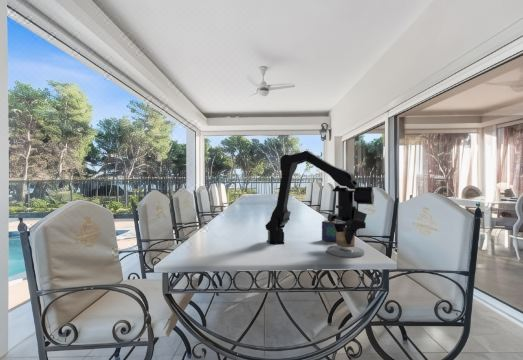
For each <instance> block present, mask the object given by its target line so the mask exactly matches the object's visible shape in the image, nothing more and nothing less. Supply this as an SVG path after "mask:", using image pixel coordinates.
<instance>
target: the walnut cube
mask: <svg viewBox="0 0 523 360" xmlns="http://www.w3.org/2000/svg"><path fill="white" fill-rule="evenodd" d="M355 236H356V234H355V233H354V235H353V238H352V241H351V244H347V241H346V237H345V234H344V232H336V242H335V243H336V245H339V246H341V247H343V248H345V247H355Z"/></svg>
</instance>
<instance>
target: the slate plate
mask: <svg viewBox="0 0 523 360" xmlns="http://www.w3.org/2000/svg"><path fill="white" fill-rule="evenodd" d="M326 248H327V249H326V250H327V251H326V252H327V253H328V254H329V255H331V256H334V257H339V258H352V259H354V258H360V257H363V256H364V255H365V250H364V249H362V248H361V247H357V246H354V247H345V248H343V247H341V246H339V245H337V244H336V245H334V244H333V245H330V246H328V247H326Z"/></svg>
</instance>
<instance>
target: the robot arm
mask: <svg viewBox="0 0 523 360" xmlns="http://www.w3.org/2000/svg"><path fill="white" fill-rule="evenodd" d="M305 162H307V163H309V164H310V165H313V166H314V167H316V168H317V169H319V170H321V171H322V172H324V173H326V174H327V175H329V177H330V178H331V179H332V180H334V182H336V183H337V184H338V185H336V187H335V188H334V189H332V192H335V193H337V205H335V208H336V209H337V213H329V214H328V215H327V221H330V222H332V221H333V223H331V224H332V225H333V227H334V229H335V231H336V232H344V234H345V237H346V241H347V244H351V241H352V238H353V235H354V234H355V233H356V232H357V231H358V230H361V229H367V228H366V224H367V223H366V218H367V215H368V214H367V213H365V212H362V211H360V210H359V209H358V208H357V207H356V206H355V205H354V202H355V203H356V204H357V205H372V206H373V205H374V202H375V193H374V190H373V189H374V187H373V186H360V185H359V184H358V182H356V180H355V174H354V173H353V172H351V171H348V170H347V169H343V168H339V167H337V166H335V165H334V164H331V163H330V162H328V161H327V160H325V159H323V158H321V157H319V156H318V155H316V154H314V152H312V151H310V150H304V151H301V152H298V153H293V154H283V155H282V156H281V157H280V163H279V169H280V173H281V177H280V183H279V188H278V195H277V200H276V205H275V208H274V209H273V211H272V213H271V217H270V220H269V221H268V222H267V223H266V224H265V225H264V226H265V229H266V231H267V240H266V242H268V244H270V245H280V244H281V245H282V244H283V245H284V244H285V232H284V229H285V226H286V224H287V223H288V222H289V221H290V216H291V211H290V210H288V203H289V196H290V191H291V185H292V181H293V176H294V174H295V172H296V171H297V167H298V165H300V164H303V163H305Z"/></svg>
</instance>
